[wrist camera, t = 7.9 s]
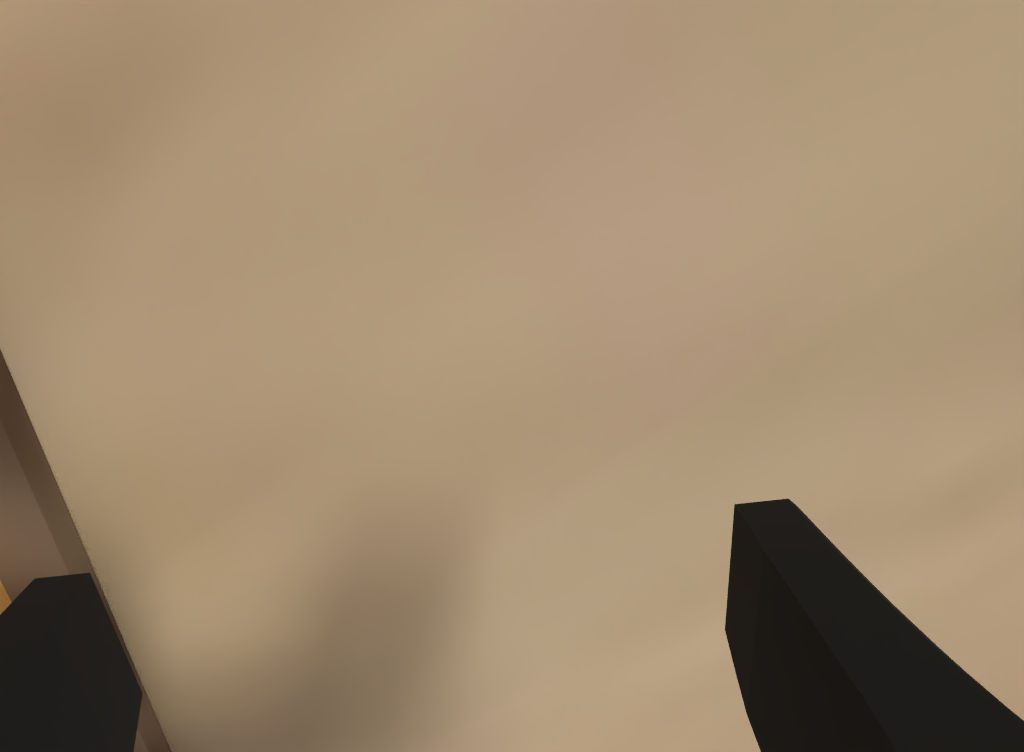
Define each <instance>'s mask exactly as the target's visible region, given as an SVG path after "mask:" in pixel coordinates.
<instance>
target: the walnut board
mask: <svg viewBox="0 0 1024 752" xmlns="http://www.w3.org/2000/svg"><path fill="white" fill-rule="evenodd" d="M82 573H90V574H91V576H92V578H93V581H94V583H95V585H96V588H97V590H98V592H99V594H100V597H101V599H102V601H103V604H104V606H105V608H106V611H107V613H108V615H109V617H110V620H111V622H112V624H113V627H114V629H115V631H116V633H117V636H118V638H119V640H120V643H121V645H122V647H123V649H124V652H125V654H126V656H127V659H128V661H129V663H130V665H131V668H132V670H133V672H134V675H135V677H136V679H137V681H138V684H139V686H140V688H141V691H142V693H143V694H142V701H141V707H140V714H139V720H138V727H137V733H136V740H135V746H134V751H133V752H171V751H170V749H169V746H168V744H167V742H166V739H165V737H164V735H163V732H162V730H161V728H160V725H159V723H158V720H157V718H156V716H155V713H154V711H153V709H152V706H151V704H150V702H149V699H148V697H147V695H146V692H145V690H144V687H143V685H142V683H141V680H140V678H139V676H138V673H137V671H136V669H135V666H134V664H133V662H132V659H131V657H130V655H129V652H128V650H127V647H126V645H125V643H124V640H123V638H122V636H121V633H120V631H119V629H118V626H117V624H116V622H115V619H114V617H113V614H112V612H111V610H110V607H109V605H108V603H107V600H106V598H105V596H104V593H103V591H102V589H101V586H100V584H99V581H98V579H97V577H96V574H95V572H94V570H93V567H92V565H91V563H90V560H89V558H88V556H87V553H86V551H85V548H84V546H83V544H82V541H81V539H80V537H79V534H78V532H77V530H76V527H75V525H74V523H73V520H72V518H71V515H70V513H69V511H68V508H67V506H66V504H65V501H64V499H63V497H62V494H61V492H60V490H59V487H58V485H57V482H56V480H55V478H54V475H53V473H52V471H51V468H50V466H49V464H48V461H47V459H46V457H45V454H44V452H43V449H42V447H41V445H40V442H39V440H38V438H37V435H36V433H35V431H34V428H33V426H32V424H31V421H30V419H29V416H28V414H27V412H26V409H25V407H24V405H23V402H22V400H21V398H20V395H19V393H18V391H17V388H16V386H15V383H14V381H13V379H12V376H11V374H10V372H9V369H8V367H7V365H6V362H5V360H4V358H3V355H2V353H1V351H0V580H1V582H2V584H3V586H4V588H5V590H6V592H7V594H8V596H9V598H10V600H11V602H13V601H14V599H15V598H16V597H17V596H18V595H19V594H20V593H21V592H22V591H23V590H24V589H25V588H26V587H27V586H28V585H29V584H30V583H31V582H32V581H33V580H34V579H35V578H44V577H53V576H63V575H72V574H82Z"/></svg>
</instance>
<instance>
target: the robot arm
mask: <svg viewBox="0 0 1024 752" xmlns="http://www.w3.org/2000/svg"><path fill="white" fill-rule="evenodd" d="M725 631H726V635H727V639H728V643H729V647H730V651H731V655H732V659H733V663H734V667H735V671H736V675H737V679H738V683H739V686H740V690H741V694H742V698H743V701H744V705H745V709H746V712H747V715H748V718H749V721H750V724H751V726H752V729H753V732H754V734H755V737H756V739H757V742H758V745H759V747H760V750H761V752H1024V721H1023V720H1022V719H1021V718H1019V717H1018V716H1017V715H1016V714H1015V713H1013V712H1012V711H1011V710H1010V709H1008V708H1007V707H1006V706H1005V705H1004V704H1003V703H1001V702H1000V701H999V700H998V699H997V698H996V697H994V696H993V695H992V694H991V693H990V692H989V691H987V690H986V689H985V688H984V687H983V686H982V685H980V684H979V683H978V682H977V681H976V680H975V679H973V678H972V677H971V676H970V675H969V674H968V673H966V672H965V671H964V670H963V669H962V668H961V667H960V666H959V665H957V664H956V663H955V662H954V661H953V660H952V659H951V658H950V657H949V656H947V655H946V654H945V653H944V652H943V651H942V650H941V649H940V648H939V647H938V646H936V645H935V644H934V643H933V642H932V641H931V640H930V639H929V638H928V637H927V636H926V635H925V634H924V633H923V632H922V631H921V630H919V629H918V628H917V627H916V626H915V625H914V624H913V623H912V622H911V621H910V620H909V619H908V618H907V617H906V616H905V615H904V614H902V613H901V612H900V611H899V610H898V609H897V608H896V607H895V606H894V605H893V604H892V603H891V602H890V601H889V600H888V599H887V598H886V597H885V596H884V595H883V594H882V593H881V592H880V591H879V590H878V589H877V588H876V587H875V586H874V585H873V584H872V583H871V582H870V581H869V580H868V579H867V578H866V577H865V576H864V575H863V574H862V573H861V572H860V571H859V570H858V569H857V568H856V567H855V566H854V565H853V564H852V563H851V562H850V561H849V560H848V559H847V558H846V557H845V556H844V555H843V554H842V553H841V552H840V551H839V550H838V549H837V548H836V547H835V546H834V545H833V543H832V542H831V541H830V540H829V539H828V538H827V537H826V536H825V535H824V534H823V533H822V532H821V531H820V530H819V529H818V528H817V527H816V526H815V525H814V523H813V522H812V521H811V520H810V519H809V518H808V517H807V516H806V515H805V514H804V513H803V512H802V511H801V510H800V509H799V508H798V507H797V506H796V505H795V504H794V503H793V502H792V501H790V500H789V499H782V500H772V501H763V502H753V503H744V504H735V507H734V520H733V533H732V546H731V559H730V572H729V585H728V598H727V612H726V625H725ZM142 694H143V693H142V691H141V688H140V686H139V684H138V681H137V679H136V677H135V675H134V672H133V670H132V668H131V665H130V663H129V661H128V659H127V656H126V654H125V652H124V649H123V647H122V645H121V643H120V640H119V638H118V636H117V633H116V631H115V629H114V627H113V624H112V622H111V620H110V617H109V615H108V613H107V611H106V608H105V606H104V604H103V601H102V599H101V597H100V594H99V592H98V590H97V588H96V585H95V583H94V581H93V578H92V576H91V574H90V573H82V574H72V575H63V576H53V577H44V578H35V579H34V580H33V581H32V582H31V583H30V584H29V585H28V586H27V587H26V588H25V589H24V590H23V591H22V592H21V593H20V594H19V595H18V596H17V597H16V598H15V599H14V601H13V602H12V603H11V604H10V605H9V606H8V607H7V608H6V609H5V610H4V611H3V612H2V614H1V615H0V752H133V751H134V746H135V740H136V733H137V727H138V720H139V714H140V707H141V701H142Z"/></svg>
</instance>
